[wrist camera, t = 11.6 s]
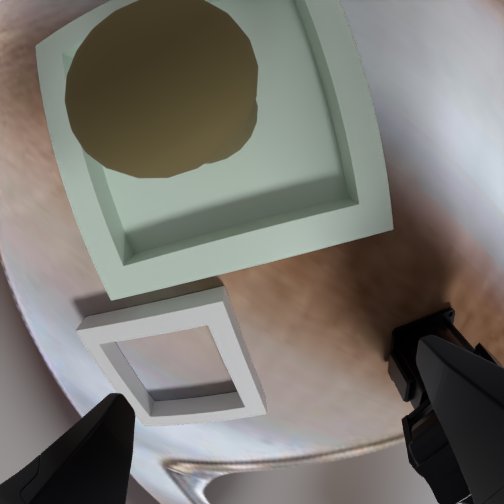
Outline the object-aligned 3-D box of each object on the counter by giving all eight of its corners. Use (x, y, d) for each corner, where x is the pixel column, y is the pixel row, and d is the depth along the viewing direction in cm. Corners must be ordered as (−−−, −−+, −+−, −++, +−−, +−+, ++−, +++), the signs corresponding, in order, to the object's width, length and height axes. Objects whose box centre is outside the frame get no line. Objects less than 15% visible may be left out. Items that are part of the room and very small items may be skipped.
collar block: (224, 285, 20) (222, 301, 18) (265, 397, 24) (267, 413, 22) (85, 316, 21) (75, 330, 19) (148, 411, 25) (144, 426, 23)
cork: (252, 57, 14) (264, -53, 4) (263, 157, 16) (297, 189, 6) (148, 75, 14) (33, 14, 4) (160, 171, 16) (48, 226, 6)
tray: (308, -31, 12) (316, -49, 9) (376, 218, 18) (393, 229, 16) (54, 52, 13) (35, 45, 11) (123, 282, 20) (111, 300, 17)
